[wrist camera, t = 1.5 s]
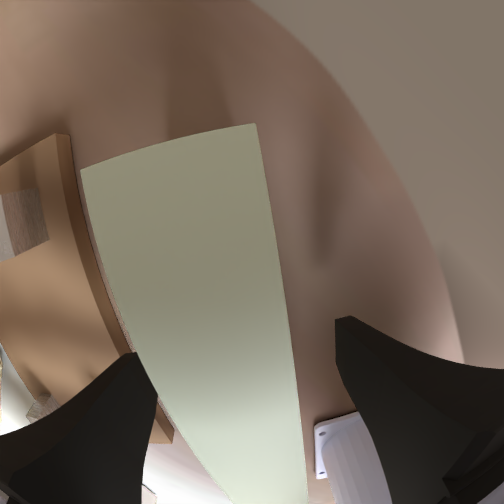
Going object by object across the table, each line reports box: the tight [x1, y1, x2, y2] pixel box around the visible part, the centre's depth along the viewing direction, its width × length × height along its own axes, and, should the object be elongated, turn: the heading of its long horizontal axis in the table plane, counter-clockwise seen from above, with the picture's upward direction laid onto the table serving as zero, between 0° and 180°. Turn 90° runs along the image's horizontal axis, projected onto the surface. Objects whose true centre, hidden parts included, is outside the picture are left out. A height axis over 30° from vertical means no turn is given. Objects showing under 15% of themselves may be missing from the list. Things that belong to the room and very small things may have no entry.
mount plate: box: [0, 133, 174, 444], centre depth 11 cm, size 18×10×1 cm, turn 10°
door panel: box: [80, 123, 309, 504], centre depth 9 cm, size 14×3×7 cm, turn 10°
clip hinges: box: [0, 188, 61, 423], centre depth 10 cm, size 14×7×2 cm, turn 10°
